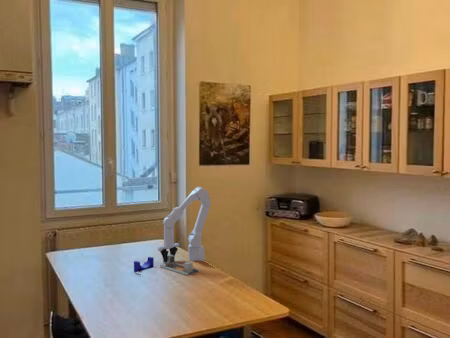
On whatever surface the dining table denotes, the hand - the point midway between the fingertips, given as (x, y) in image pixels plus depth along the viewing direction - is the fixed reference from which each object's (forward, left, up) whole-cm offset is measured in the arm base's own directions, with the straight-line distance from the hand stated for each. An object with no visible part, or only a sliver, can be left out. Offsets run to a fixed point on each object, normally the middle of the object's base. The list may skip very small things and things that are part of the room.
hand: (168, 260), depth 271 cm
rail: (+7, +17, -1) cm, 18 cm away
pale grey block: (0, 0, -2) cm, 2 cm away
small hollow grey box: (+7, +24, 0) cm, 25 cm away
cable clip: (+18, -1, -2) cm, 18 cm away
